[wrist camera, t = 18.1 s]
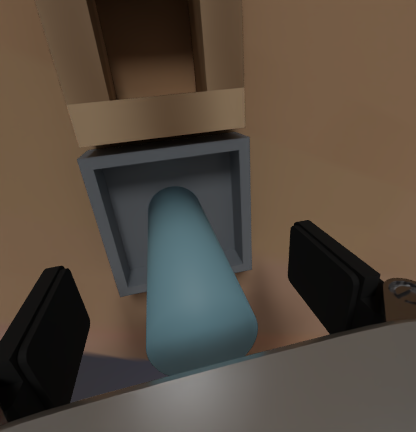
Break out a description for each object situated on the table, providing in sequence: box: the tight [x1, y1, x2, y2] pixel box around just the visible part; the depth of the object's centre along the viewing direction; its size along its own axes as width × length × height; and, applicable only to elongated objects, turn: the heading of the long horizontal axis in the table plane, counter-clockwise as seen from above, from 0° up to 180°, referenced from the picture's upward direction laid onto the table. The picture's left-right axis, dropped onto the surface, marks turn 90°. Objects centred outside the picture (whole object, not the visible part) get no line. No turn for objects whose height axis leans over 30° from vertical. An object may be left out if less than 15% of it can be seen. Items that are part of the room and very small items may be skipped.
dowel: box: [146, 186, 258, 376], centre depth 12 cm, size 3×3×10 cm
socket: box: [34, 0, 245, 147], centre depth 12 cm, size 8×8×3 cm
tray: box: [77, 132, 252, 297], centre depth 16 cm, size 9×9×2 cm
